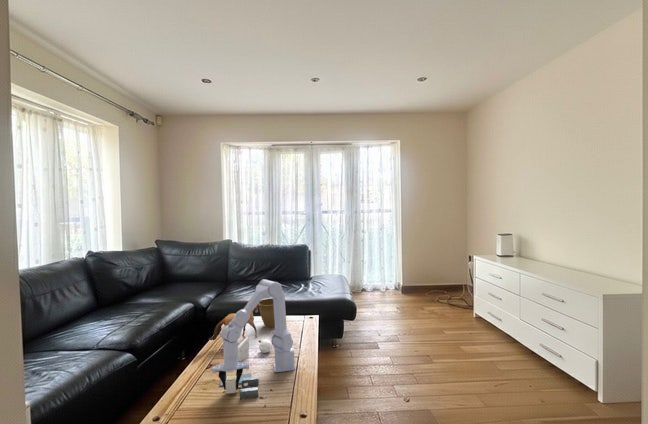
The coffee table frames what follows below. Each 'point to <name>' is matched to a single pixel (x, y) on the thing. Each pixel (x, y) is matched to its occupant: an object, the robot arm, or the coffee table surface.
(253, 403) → the coffee table surface
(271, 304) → the plant pot
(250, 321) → the horse figurine
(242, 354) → the white wedge bracket
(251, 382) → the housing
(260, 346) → the ornament
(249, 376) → the mat
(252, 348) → the coffee table surface
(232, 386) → the wall lamp
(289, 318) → the coffee table surface
